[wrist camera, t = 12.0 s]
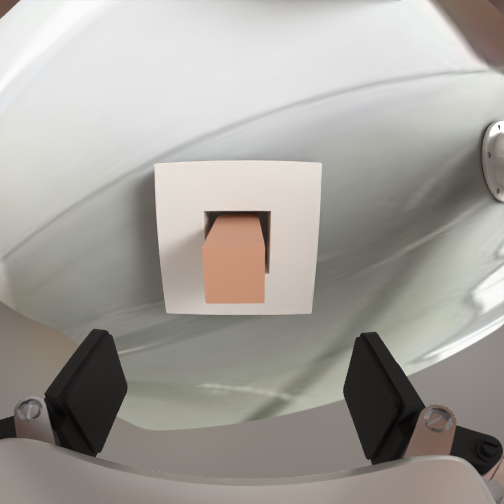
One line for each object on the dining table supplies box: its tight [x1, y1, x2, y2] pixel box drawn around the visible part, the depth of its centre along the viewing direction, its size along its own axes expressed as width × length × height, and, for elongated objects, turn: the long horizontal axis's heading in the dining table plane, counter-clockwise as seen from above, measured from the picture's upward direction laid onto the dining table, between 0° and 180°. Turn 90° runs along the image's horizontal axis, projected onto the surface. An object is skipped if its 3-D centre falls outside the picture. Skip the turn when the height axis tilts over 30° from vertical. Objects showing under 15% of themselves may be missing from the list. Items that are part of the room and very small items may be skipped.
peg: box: [202, 213, 265, 304], centre depth 25 cm, size 4×4×12 cm
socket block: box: [154, 160, 322, 315], centre depth 29 cm, size 15×15×5 cm
